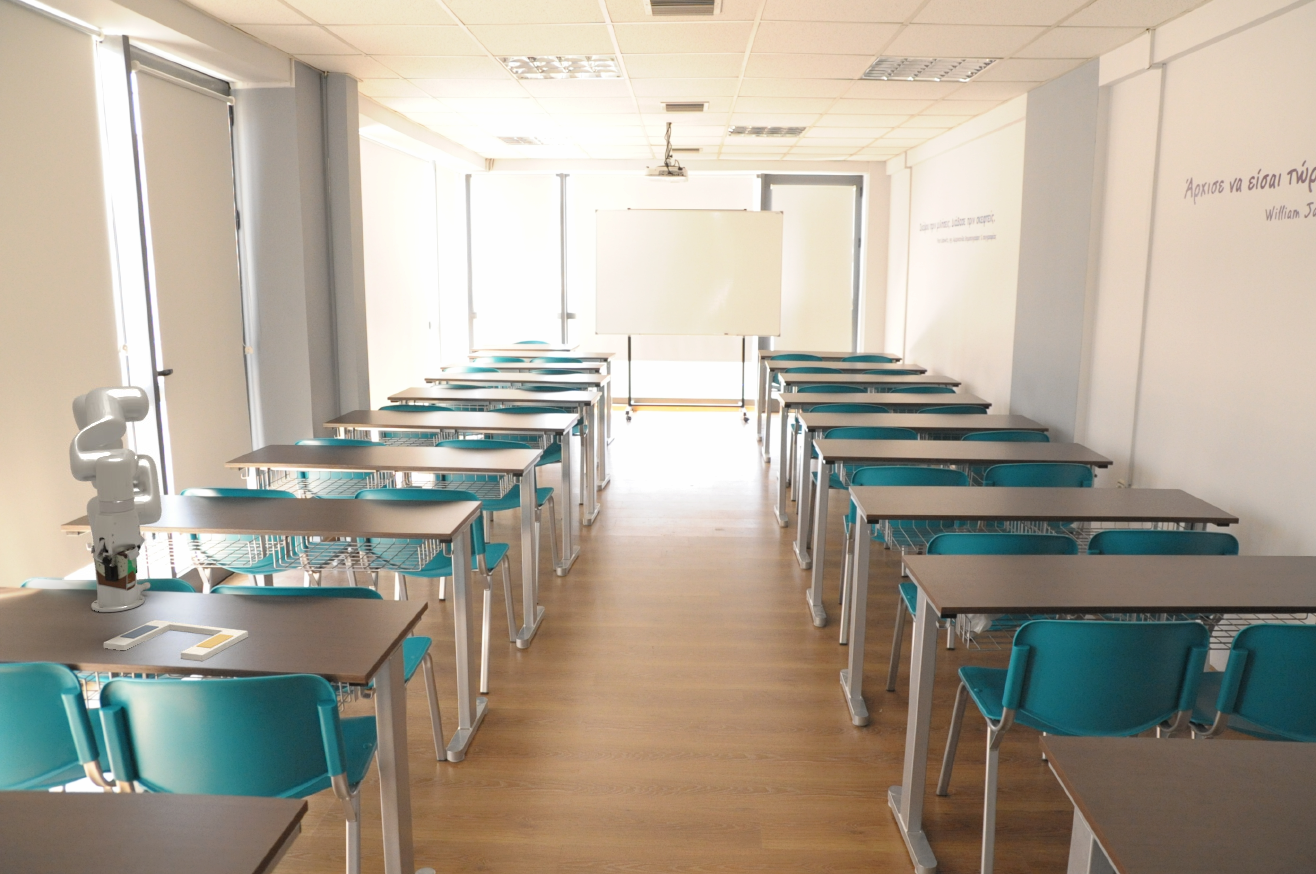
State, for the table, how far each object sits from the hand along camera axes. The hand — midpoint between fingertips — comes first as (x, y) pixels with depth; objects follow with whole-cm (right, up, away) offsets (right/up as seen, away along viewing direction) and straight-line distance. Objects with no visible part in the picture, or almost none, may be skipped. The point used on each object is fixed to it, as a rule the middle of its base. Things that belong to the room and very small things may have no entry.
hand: (121, 576), depth 216 cm
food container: (0, -2, +1) cm, 3 cm away
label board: (+12, -17, +3) cm, 21 cm away
